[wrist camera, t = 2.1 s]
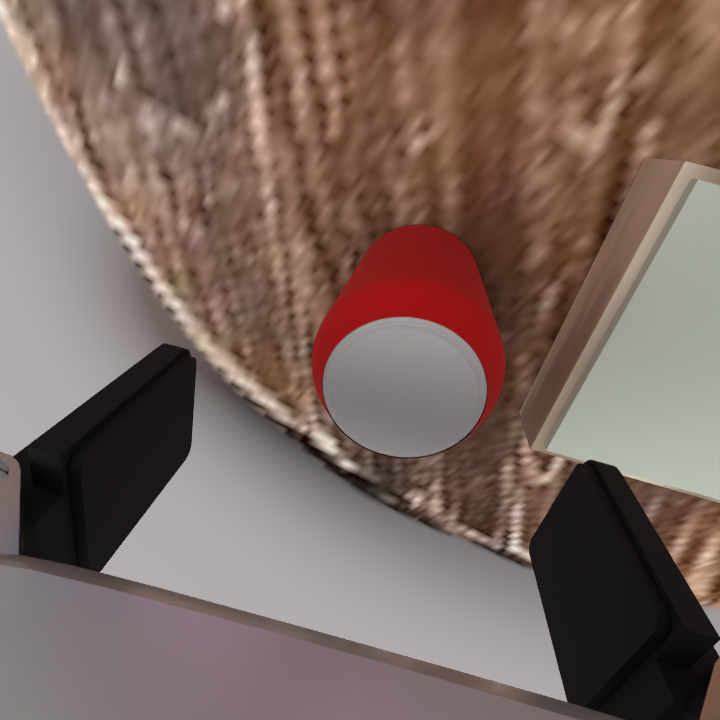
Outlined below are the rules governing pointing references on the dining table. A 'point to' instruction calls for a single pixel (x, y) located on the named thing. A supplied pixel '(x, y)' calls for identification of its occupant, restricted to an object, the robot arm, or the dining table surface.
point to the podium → (643, 341)
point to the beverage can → (410, 347)
